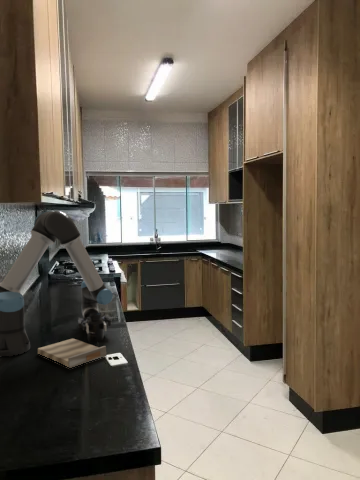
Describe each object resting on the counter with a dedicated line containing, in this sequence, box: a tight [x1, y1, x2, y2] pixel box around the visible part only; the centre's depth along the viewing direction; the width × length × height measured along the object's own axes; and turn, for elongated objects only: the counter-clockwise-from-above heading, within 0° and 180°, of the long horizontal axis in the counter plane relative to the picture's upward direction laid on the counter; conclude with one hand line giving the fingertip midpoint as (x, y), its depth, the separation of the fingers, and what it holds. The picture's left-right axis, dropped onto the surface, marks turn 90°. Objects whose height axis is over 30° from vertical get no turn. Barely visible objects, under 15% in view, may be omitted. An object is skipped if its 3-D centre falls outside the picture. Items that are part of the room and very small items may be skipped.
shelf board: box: [37, 337, 107, 369], centre depth 150 cm, size 23×16×4 cm
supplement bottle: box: [87, 312, 105, 344], centre depth 168 cm, size 7×7×12 cm
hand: (96, 329), depth 163 cm, fingers closed on supplement bottle, 7 cm apart
